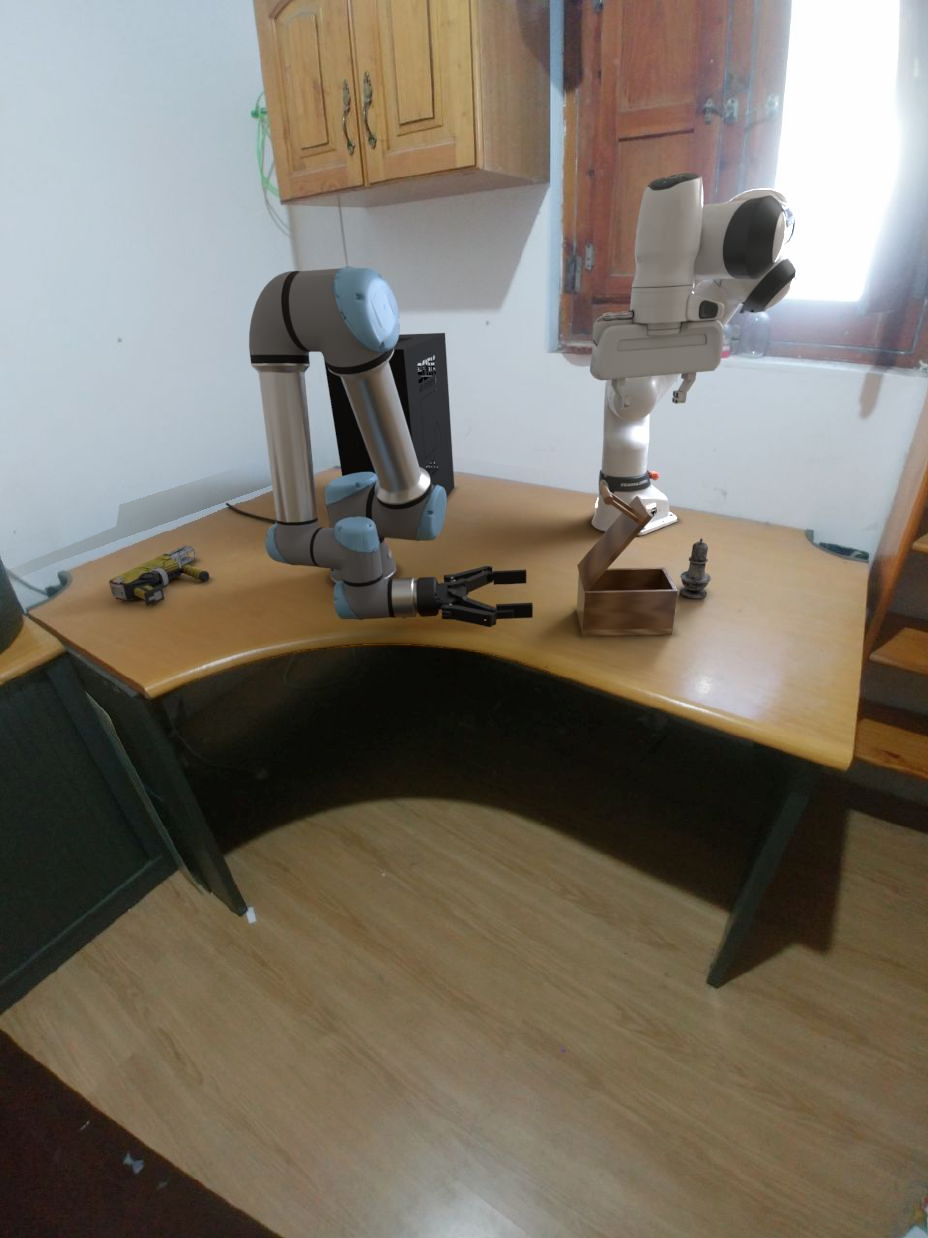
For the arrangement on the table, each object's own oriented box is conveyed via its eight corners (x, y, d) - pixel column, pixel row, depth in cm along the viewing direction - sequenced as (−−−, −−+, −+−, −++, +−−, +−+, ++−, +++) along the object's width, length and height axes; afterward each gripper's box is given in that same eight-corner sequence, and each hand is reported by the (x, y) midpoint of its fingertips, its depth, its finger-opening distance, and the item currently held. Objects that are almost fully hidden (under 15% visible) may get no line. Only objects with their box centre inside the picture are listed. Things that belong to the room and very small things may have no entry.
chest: (659, 608, 120) (664, 567, 115) (671, 634, 111) (678, 591, 107) (576, 609, 121) (578, 569, 117) (582, 635, 113) (584, 592, 108)
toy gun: (232, 553, 147) (182, 542, 151) (158, 593, 127) (102, 580, 131) (234, 570, 150) (185, 559, 154) (162, 613, 130) (107, 599, 134)
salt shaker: (710, 599, 121) (719, 544, 115) (679, 598, 123) (687, 543, 117) (706, 586, 126) (715, 532, 120) (676, 585, 128) (684, 532, 122)
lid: (641, 497, 109) (606, 473, 107) (653, 517, 100) (616, 491, 98) (580, 567, 116) (548, 545, 115) (587, 591, 108) (551, 568, 106)
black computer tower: (420, 531, 161) (403, 349, 139) (350, 528, 166) (322, 351, 143) (454, 487, 193) (445, 332, 170) (394, 486, 197) (377, 335, 175)
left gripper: (423, 585, 127) (524, 580, 126) (414, 649, 106) (535, 644, 105) (420, 552, 123) (523, 547, 123) (409, 612, 102) (535, 607, 101)
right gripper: (601, 314, 85) (596, 414, 92) (735, 304, 88) (720, 403, 95) (586, 312, 91) (582, 407, 98) (712, 303, 93) (699, 396, 100)
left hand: (529, 592), depth 114 cm, fingers open, 13 cm apart
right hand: (651, 405), depth 96 cm, fingers open, 8 cm apart
